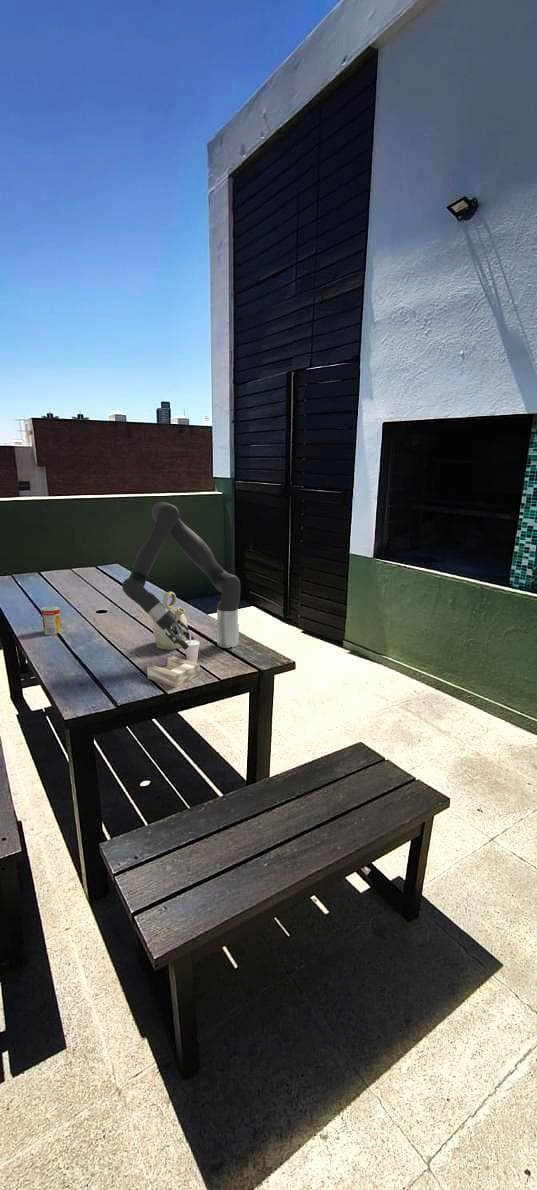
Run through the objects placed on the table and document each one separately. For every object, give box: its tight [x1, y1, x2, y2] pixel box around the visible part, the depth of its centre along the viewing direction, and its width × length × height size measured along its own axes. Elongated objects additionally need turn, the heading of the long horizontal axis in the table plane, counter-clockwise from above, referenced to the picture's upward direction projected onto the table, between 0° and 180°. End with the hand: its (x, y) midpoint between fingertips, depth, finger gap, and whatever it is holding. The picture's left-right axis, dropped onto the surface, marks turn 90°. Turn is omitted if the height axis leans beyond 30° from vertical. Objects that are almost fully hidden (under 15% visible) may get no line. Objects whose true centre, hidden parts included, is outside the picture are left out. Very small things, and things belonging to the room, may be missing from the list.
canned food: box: [41, 605, 63, 636], centre depth 232 cm, size 8×8×12 cm
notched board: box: [146, 655, 201, 688], centre depth 187 cm, size 14×14×4 cm
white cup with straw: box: [184, 631, 201, 663], centre depth 198 cm, size 6×6×14 cm
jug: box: [151, 591, 188, 650], centre depth 218 cm, size 15×16×25 cm
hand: (190, 644), depth 198 cm, fingers open, 8 cm apart
